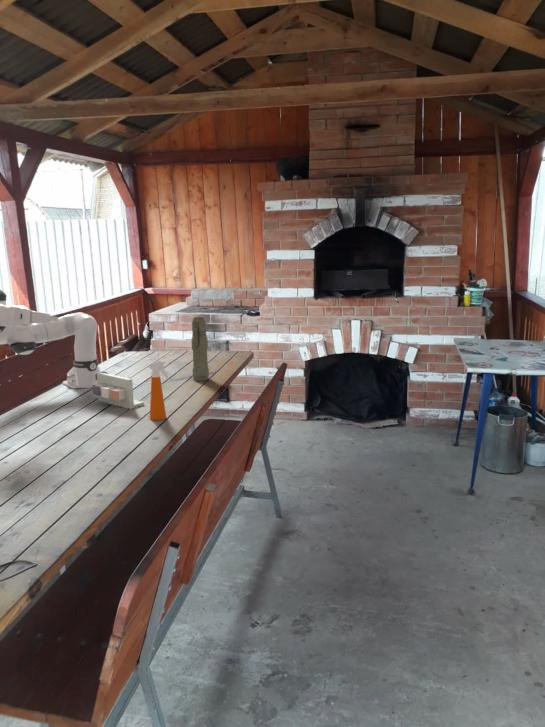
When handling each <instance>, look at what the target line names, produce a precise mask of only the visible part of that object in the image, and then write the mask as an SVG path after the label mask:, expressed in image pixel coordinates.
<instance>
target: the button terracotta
mask: <svg viewBox="0 0 545 727" xmlns="http://www.w3.org/2000/svg"><path fill="white" fill-rule="evenodd" d="M125 398H126V389H125V388H118V389H114V390H111V399H112V400H116V401H119V400H121V399H125Z"/></svg>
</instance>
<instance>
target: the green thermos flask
mask: <svg viewBox="0 0 545 727" xmlns="http://www.w3.org/2000/svg"><path fill="white" fill-rule="evenodd" d="M191 331H192V337H191V350H192V360H193V361H192V362H193V364H192V366H193V367H192V378H193V381H194V380H196V381H195V382H206V381H205V380H207V381H209V380H210V377H209V376H210V370H209V366H208V363H209V362H208V348H209V345H208V344H209V343H208V342H209V341H208V337H207V322H206V318H205V317H203V316H195V317H193V318H192V322H191ZM208 379H209V380H208Z"/></svg>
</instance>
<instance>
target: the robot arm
mask: <svg viewBox="0 0 545 727" xmlns="http://www.w3.org/2000/svg"><path fill="white" fill-rule="evenodd" d="M97 330H98V322H97V320H96V319H95V318H94V317H93V316H92V315H90V314H87V313H85V312H81V311H80V312H79V311H78V312H74V313H70V314H65V315H63V316H53V315H51V314H50V313H47V312H41V311H36V310H32V309H30V308H28V307H26V306H25V305H18V304H17V305H16V304H15V305H14V304H9V305H7V294H6V293H5V292H4V291H3V290H1V289H0V345H8V346H9V348H8V349H9V350H12V351H13V353H16V354H17V355H22V356H23V355H24V356H25V355H26V356H27V355H30V354H32V353H33V352H35V351H36V349H37V344H41V343H47V342H48V343H49V342H52V341H58V340H63V339H65V338H68V337H71V336H74V344H73V352H74V360H73V361H72V363H73V365H72V368H71V369H70V370H68V372H67V373H66V380H63V381H62V384H63V385H64V386H66V387H69V388H71V389H88V388H89V389H90V388H92V383H93V382H96V378H95V374H96V373H97V372H101V369H100V367H99V366H98V365H99V360H98V357H97V356H98V355H97V344H96V342H97V332H98V331H97Z"/></svg>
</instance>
